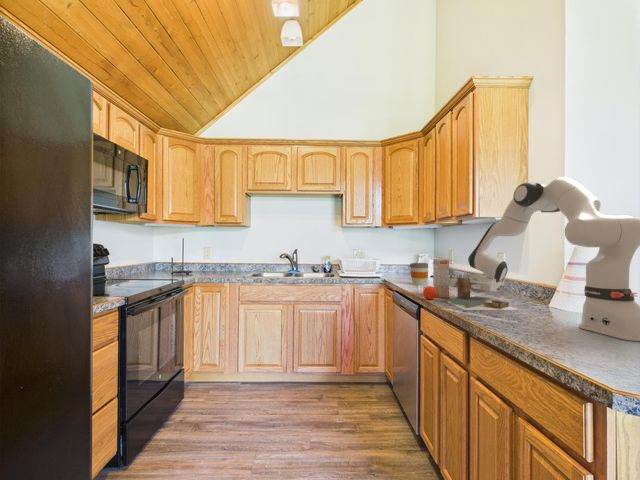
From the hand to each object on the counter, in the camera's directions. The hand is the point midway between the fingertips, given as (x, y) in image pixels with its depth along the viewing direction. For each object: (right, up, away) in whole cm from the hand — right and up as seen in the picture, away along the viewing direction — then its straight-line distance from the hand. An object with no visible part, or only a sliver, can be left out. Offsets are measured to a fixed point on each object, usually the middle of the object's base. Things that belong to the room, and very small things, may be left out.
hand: (462, 285), depth 150 cm
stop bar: (+1, -9, 0) cm, 9 cm away
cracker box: (0, -10, +28) cm, 30 cm away
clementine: (-10, -10, +18) cm, 23 cm away
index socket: (+1, -10, 0) cm, 10 cm away
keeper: (+12, -8, -7) cm, 16 cm away
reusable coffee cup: (+4, -10, +78) cm, 79 cm away
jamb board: (+6, -9, -4) cm, 12 cm away
